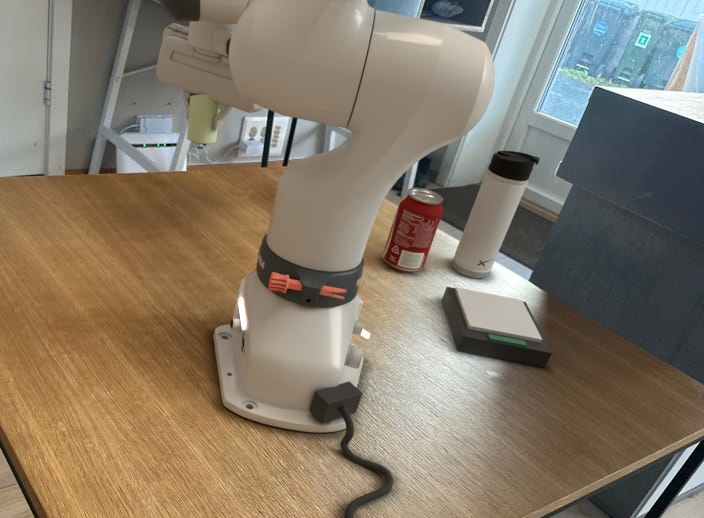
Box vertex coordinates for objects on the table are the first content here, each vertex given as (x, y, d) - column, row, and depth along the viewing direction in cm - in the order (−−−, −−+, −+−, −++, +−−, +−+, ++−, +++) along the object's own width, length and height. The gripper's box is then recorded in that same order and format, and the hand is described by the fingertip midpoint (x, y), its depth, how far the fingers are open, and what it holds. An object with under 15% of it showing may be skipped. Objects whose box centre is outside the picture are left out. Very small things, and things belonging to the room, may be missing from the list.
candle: (180, 138, 118) (184, 87, 114) (197, 134, 122) (202, 84, 118) (205, 145, 116) (210, 93, 112) (221, 141, 120) (227, 90, 115)
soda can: (423, 278, 111) (448, 207, 105) (380, 268, 112) (403, 197, 105) (421, 260, 117) (445, 192, 110) (381, 251, 117) (403, 182, 111)
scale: (544, 367, 95) (554, 349, 93) (457, 350, 95) (465, 332, 93) (519, 315, 106) (527, 298, 104) (441, 300, 106) (448, 282, 104)
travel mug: (485, 283, 113) (535, 163, 102) (446, 268, 116) (491, 149, 104) (494, 271, 118) (543, 155, 107) (456, 257, 120) (501, 142, 109)
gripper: (152, 20, 112) (144, 109, 119) (258, 52, 103) (242, 145, 111) (177, 19, 116) (167, 104, 124) (281, 50, 108) (263, 139, 116)
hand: (203, 124), depth 117 cm, fingers closed on candle, 3 cm apart
